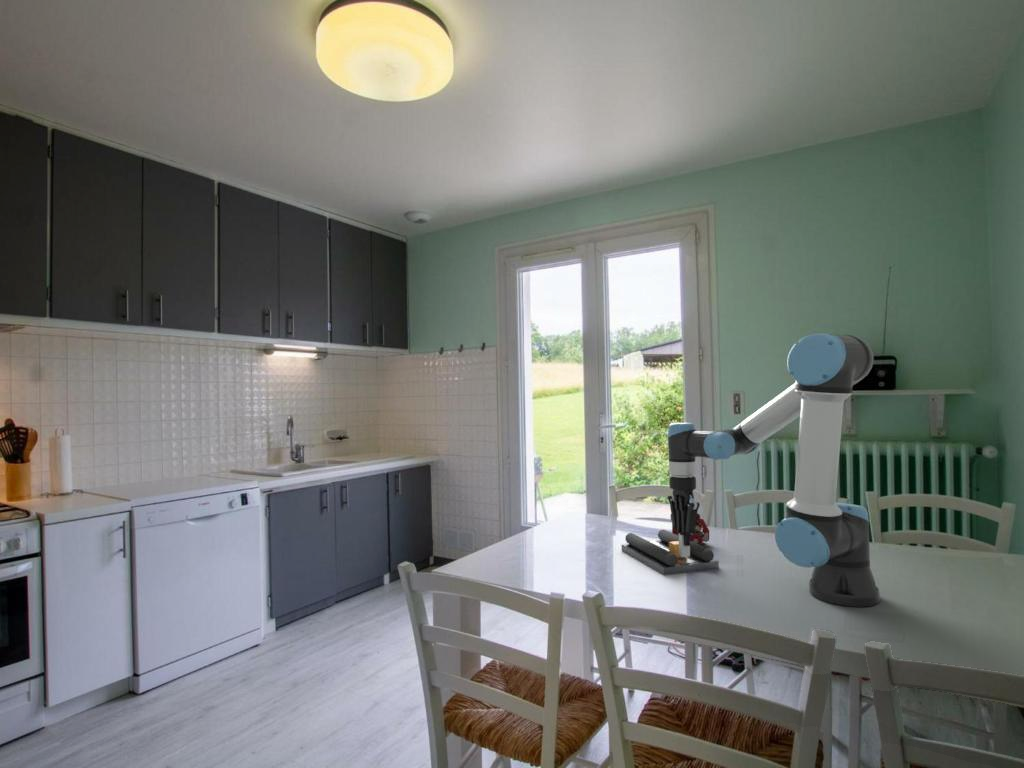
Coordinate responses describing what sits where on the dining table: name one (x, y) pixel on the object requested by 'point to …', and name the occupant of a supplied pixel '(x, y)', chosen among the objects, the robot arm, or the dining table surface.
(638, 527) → the dining table surface
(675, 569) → the panel
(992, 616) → the dining table surface
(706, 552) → the dark grey cylindrical rod
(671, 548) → the tan cardboard-colored block
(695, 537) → the toy fire truck
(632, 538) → the dark grey cylinder rod
